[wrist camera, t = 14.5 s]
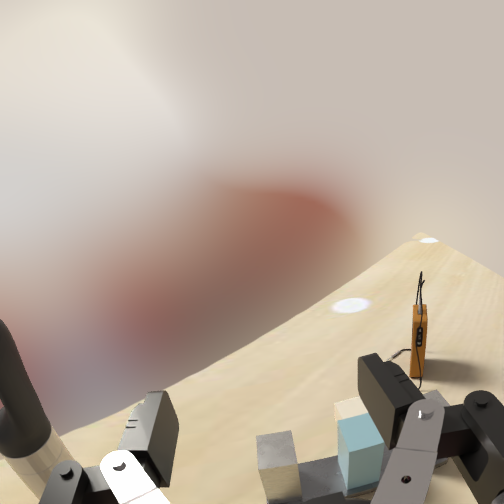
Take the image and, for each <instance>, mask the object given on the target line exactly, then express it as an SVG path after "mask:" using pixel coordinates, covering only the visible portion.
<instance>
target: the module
mask: <svg viewBox="0 0 504 504" xmlns="http://www.w3.org/2000/svg"><path fill="white" fill-rule="evenodd" d="M337 422H338V462H339V465H340V468H341V472H342V475H343V478H344V481H345V484H346V488H347V490H348V489H352V488H356V487H360V486H363V485H367V484H370V483H373V482H377V481H379V477H380V471H381V465H382V459H383V453H384V446H385V442H384V441H383V439H382V437H381V435H380V433H379V431H378V429H377V428H376V426H375V424H374V422H373V420H372V418H371V417H370V415H369V413H365V414H362V415H358V416H354V417H350V418H346V419H342V420H338V421H337Z"/></svg>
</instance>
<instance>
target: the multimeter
mask: <svg viewBox="0 0 504 504" xmlns="http://www.w3.org/2000/svg"><path fill="white" fill-rule="evenodd" d="M420 279H421V281H420ZM424 281H425V280H423V282H422V271H421V273H420V278H419V284H418V291H417V299H416V305H413V328H412V346H411V349H403V350H411V361H410V376H409V377H420V387H421V382H422V376H423V368H424V359H425V349H426V337H427V322H428V321H427V309H426V304H423V305H422V296H421V288H422V285H423V283H424ZM419 286H420V296H419V297H420V298H419V305H417V300H418V292H419ZM403 350H401V351H403ZM401 351H398V352H397V353H395V354H394V355H392V356H391V357H390V358H393V357H394V356H396V355H397V354H399V353H400V352H401ZM390 358H389V359H390ZM389 359H387V360H389ZM420 387H419V388H418V389H420Z"/></svg>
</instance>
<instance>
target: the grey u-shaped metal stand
mask: <svg viewBox="0 0 504 504" xmlns="http://www.w3.org/2000/svg"><path fill="white" fill-rule="evenodd" d="M423 396H424V397H425V398H426V399H433V400H436V401H438V402H440V403H441V404H442V405H443V407H446V406H450V405H449V404H448V403H447V401H446V400H445V399H444V398H443V397H442V395H441V394H440V393H439V392H438V391H437V390H434V391H431V392H429V393H426V394H423ZM256 440H257V455H258V470H259V473H260V477H261V480H262V483H263V487H264V490H265V493H266V497H267V504H300V503H303V502H305V501H307V500H310V499H312V498H316V497H321V496H325V495H329V494H333V493H337V492H341V491H342V492H343V495H344V498H352V497H355V496H359V495H362V494H366V493H369V492H372V491H376V490H377V488H378V485H379V483H380V481H381V478H382V476H383V474H384V471H385V469H386V466H387V464H388V461H389V459H390V456H391V454H392V451H393V449H392V450H388V448H387V446H386V444H385V446H384V453H383V459H382V465H381V471H380V477H379V481H377V482H373V483H370V484H367V485H363V486H360V487H356V488H352V489H348V490H347V488H346V484H345V481H344V478H343V475H342V472H341V468H340V465H339V462H338V455H337V456H333V457H329V458H324V459H320V460H315V461H310V462H305V463H300V464H297V458H296V453H295V448H294V443H293V438H292V433H291V430H290V431H285V432H279V433H273V434H266V435H259V436H256ZM447 460H448V459H447V458H442V459H436V462H435V466H434V469H435V468H437V467H439V466H441V465H444V464H446V463H447Z"/></svg>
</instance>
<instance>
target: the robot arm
mask: <svg viewBox="0 0 504 504" xmlns="http://www.w3.org/2000/svg"><path fill="white" fill-rule="evenodd" d="M358 391H359V395H360V398H361V400H362V402H363V404H364V406H365V407H366V409H367V411H368V413H369V415H370V417H371V418H372V420H373V422H374V424H375V426H376V428H377V429H378V431H379V433H380V435H381V437H382V439H383V441H384V442H385V444H386V446H387V448H388V450H392V449H393V451H392V454H391V456H390V459H389V461H388V464H387V466H386V469H385V471H384V474H383V476H382V478H381V481H380V483H379V485H378V488H377V490H376V492H375V494H374V497H373V499H372V501H371V500H366V499H359V498H344V495H343V492H342V491H341V492H337V493H333V494H329V495H325V496H321V497H316V498H312V499H310V500H307V501H305V502H303V503H300V504H424V501H425V498H426V494H427V491H428V488H429V484H430V481H431V477H432V474H433V470H434V466H435V462H436V459H442V458H448V457H452V459H453V461H454V462H455V464H456V466H457V467H458V469H459V471H460V472H461V474H462V476H463V478H464V479H465V481H466V483H467V485H468V486H469V488H470V490H471V492H472V493H473V495H474V497H475V499H476V500H477V502H478V504H504V406H503V405H502V403H501V402H500V401H499V400H498V399H497V398H496V397H495V396H494V395H493V394H492V393H490V392H488V391H483V390H479V391H474V392H471V393H470V394H468V395H467V396H466V398H465V400H464V404H459V405H453V406H446V407H443V405H442V404H441V403H440V402H438V401H436V400H433V399H426V398H425V397H424V396H423V394H422V393H421V392H420V391H419V389H418V388H417V387H416V386H415V385H414V383H413V382H412V381H411V380H410V379H409V377H408V376H407V375H406V374H405V372H404V371H403V370H402V369H401V367H400V366H399V365H397V364H395V363H393V362H391V361H386V362H383V361H382V360H381V358H380V357H379V356H378V354H377V353H373V354H369V355H366V356H362V357H359V358H358ZM0 399H1V401H2V403H3V405H4V407H3V408H2V409H1V410H0V453H1V454H2V456H3V457H4V458H5V460H6V461H7V462H8V464H9V465H10V466H11V467H12V469H13V470H14V471H15V472H16V473H17V475H18V476H19V477H20V478H21V480H22V481H23V482H24V483H25V484H26V485H27V487H28V488H29V489H30V490H31V491H32V492H33V493H34V494H35V495H36V497H37V498H38V499H39V500H40V502H39V504H170V503H169V502H168V501H167V499H166V498H165V497H164V496H163V494H162V493H161V492H160V491H159V488H160V487H169V486H170V479H171V473H172V467H173V461H174V455H175V449H176V444H177V438H178V432H179V422H178V418H177V415H176V413H175V410H174V408H173V405H172V403H171V400H170V398H169V395H168V393H167V392H166V391H153V392H148V393H147V396H146V399H145V401H144V403H143V404H138V405H137V406H136V407H135V408H134V409H133V410H132V411H131V414H130V416H129V419H128V422H127V424H126V428H125V430H124V432H123V435H122V438H121V441H120V443H119V446H118V449H117V451H116V452H113V453H111V454H109V455H107V456H106V457H105V458H104V459H103V461H102V463H101V465H98V466H93V467H87V468H82V466H81V465H80V464H79V463H78V462H77V461H75V460H74V458H73V457H72V456H71V454H70V453H69V451H68V450H67V448H66V447H65V445H64V444H63V442H62V441H61V439H60V438H59V436H58V435H57V433H56V432H55V430H54V428H53V427H52V425H51V424H50V422H49V420H48V418H47V417H46V415H45V413H44V410H43V408H42V406H41V403H40V401H39V398H38V396H37V394H36V392H35V390H34V388H33V386H32V384H31V381H30V379H29V377H28V375H27V372H26V370H25V368H24V365H23V362H22V360H21V357H20V355H19V352H18V350H17V347H16V344H15V342H14V340H13V338H12V335H11V333H10V332H9V330H8V328H7V326H6V325H5V324H4V322H3V321H2V320H1V319H0Z"/></svg>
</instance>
